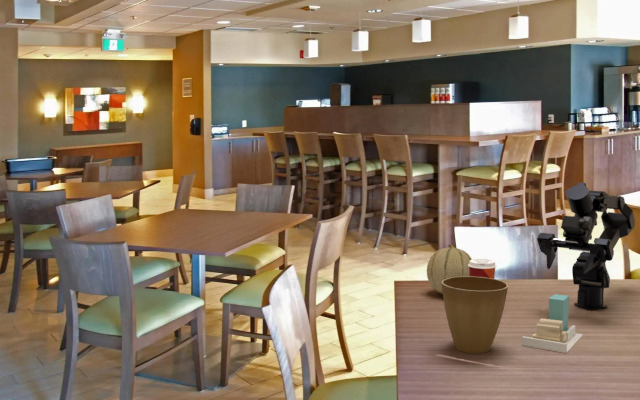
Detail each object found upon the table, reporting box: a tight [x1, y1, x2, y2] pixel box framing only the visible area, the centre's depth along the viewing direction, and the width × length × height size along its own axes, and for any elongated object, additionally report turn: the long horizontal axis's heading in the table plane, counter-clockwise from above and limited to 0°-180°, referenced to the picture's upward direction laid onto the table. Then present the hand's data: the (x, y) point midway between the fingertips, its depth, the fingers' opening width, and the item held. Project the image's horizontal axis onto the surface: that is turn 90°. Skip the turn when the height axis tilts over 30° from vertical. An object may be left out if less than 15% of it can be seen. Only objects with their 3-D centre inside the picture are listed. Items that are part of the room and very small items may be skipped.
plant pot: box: [442, 276, 509, 355], centre depth 161 cm, size 15×15×16 cm
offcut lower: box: [531, 331, 566, 343], centre depth 164 cm, size 7×6×2 cm
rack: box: [521, 325, 584, 354], centre depth 167 cm, size 16×10×3 cm, turn 146°
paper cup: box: [468, 258, 497, 279], centre depth 194 cm, size 8×8×14 cm
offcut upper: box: [535, 318, 563, 338], centre depth 164 cm, size 6×5×2 cm
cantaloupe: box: [426, 244, 473, 295], centre depth 211 cm, size 15×15×15 cm
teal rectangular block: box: [548, 293, 570, 331], centre depth 170 cm, size 5×3×10 cm
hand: (565, 270), depth 180 cm, fingers open, 9 cm apart
